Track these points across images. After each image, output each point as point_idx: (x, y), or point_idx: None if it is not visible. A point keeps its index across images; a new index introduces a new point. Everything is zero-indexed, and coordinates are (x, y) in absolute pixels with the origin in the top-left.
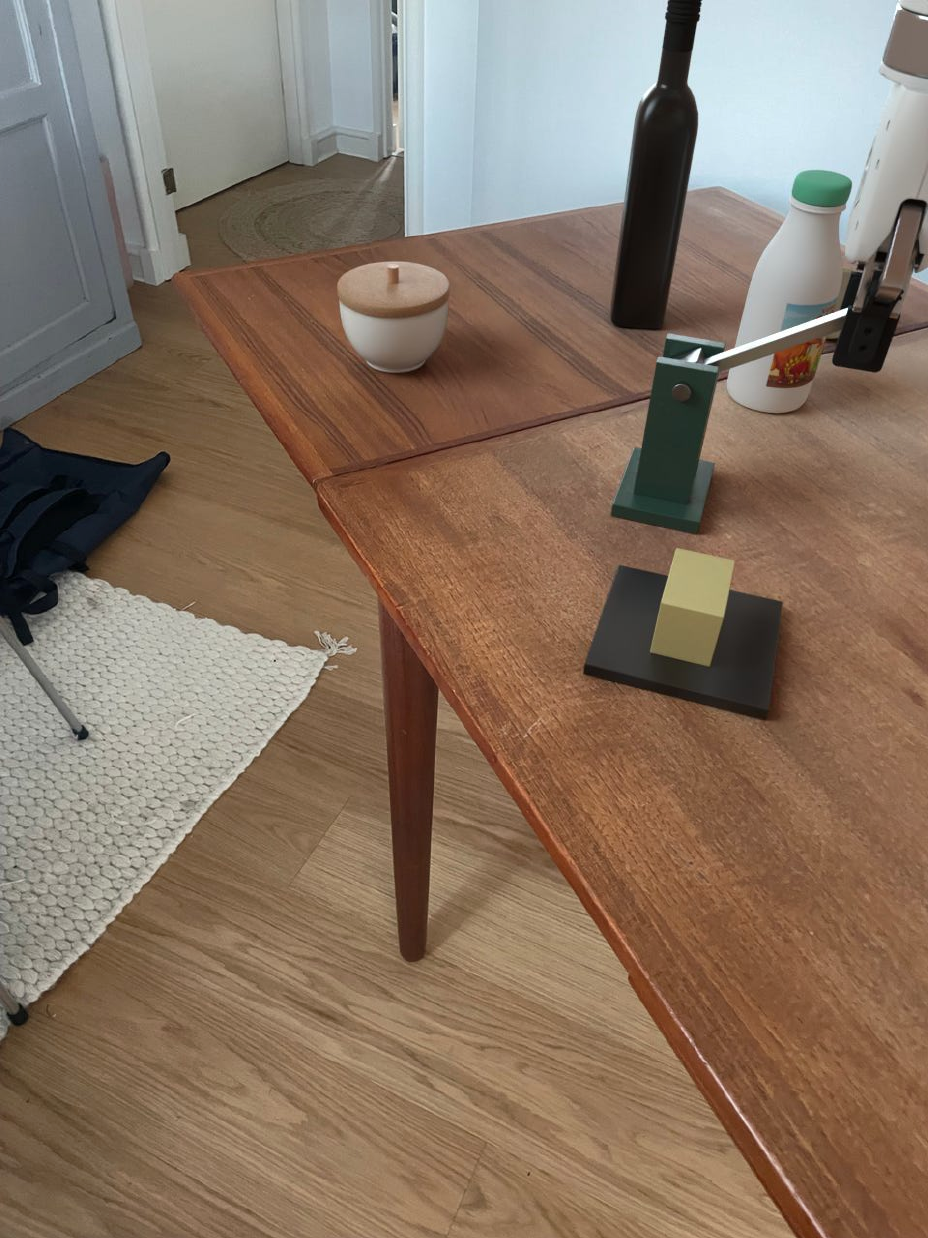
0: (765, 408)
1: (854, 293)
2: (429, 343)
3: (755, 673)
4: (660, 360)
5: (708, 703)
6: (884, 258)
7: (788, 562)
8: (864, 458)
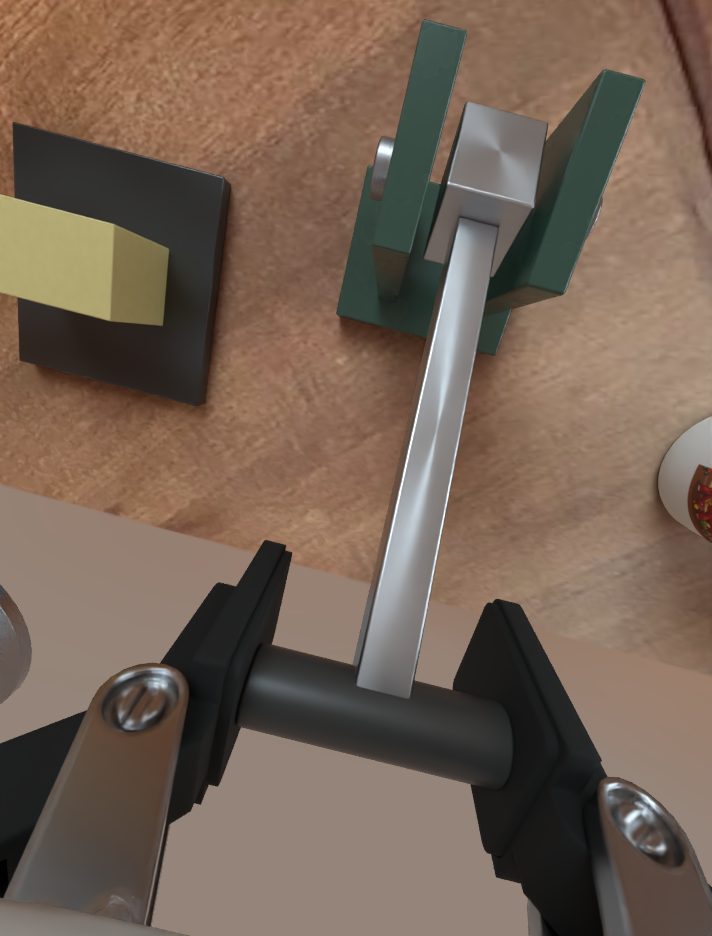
0: (665, 461)
1: (516, 704)
2: None
3: (67, 353)
4: (437, 36)
5: None
6: (589, 934)
7: (297, 430)
8: (530, 567)
